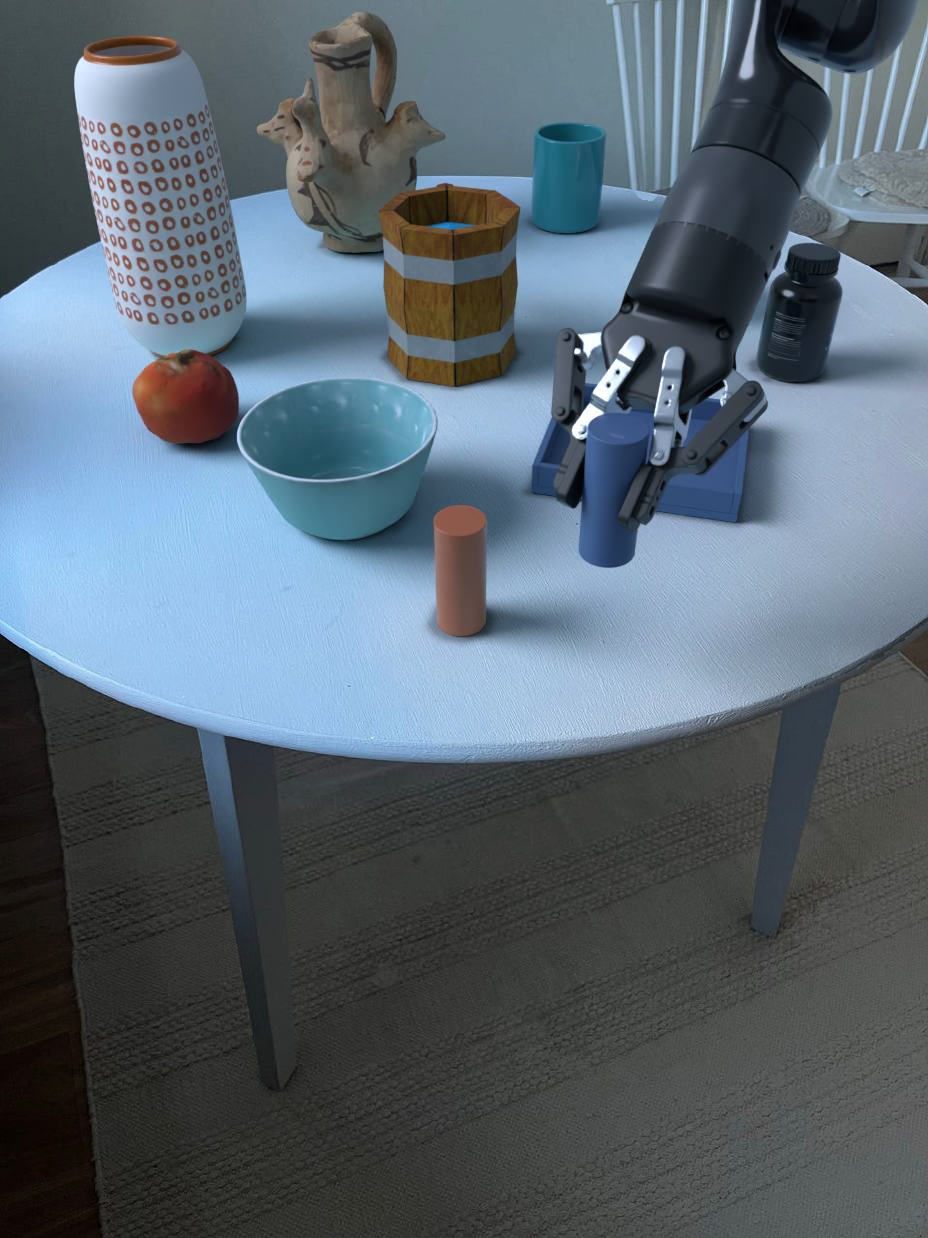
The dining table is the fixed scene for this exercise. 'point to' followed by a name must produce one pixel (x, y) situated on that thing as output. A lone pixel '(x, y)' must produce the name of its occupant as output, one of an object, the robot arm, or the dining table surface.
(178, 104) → the vase
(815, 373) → the supplement bottle
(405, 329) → the wooden banded barrel
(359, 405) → the bowl
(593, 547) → the blue peg
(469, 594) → the terracotta peg
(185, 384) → the red round fruit
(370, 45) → the ceramic vessel
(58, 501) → the dining table surface
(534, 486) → the blue tray
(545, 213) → the cup
